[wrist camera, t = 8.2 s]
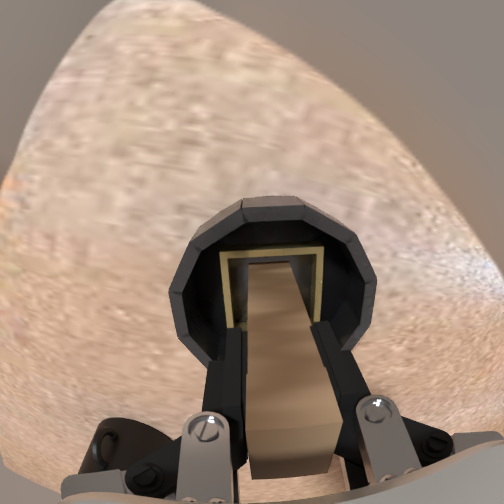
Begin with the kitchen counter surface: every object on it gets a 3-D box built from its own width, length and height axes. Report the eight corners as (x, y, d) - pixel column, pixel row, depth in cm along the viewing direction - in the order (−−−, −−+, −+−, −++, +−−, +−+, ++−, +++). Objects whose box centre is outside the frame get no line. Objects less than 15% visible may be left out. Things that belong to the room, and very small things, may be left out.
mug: (155, 403, 22) (132, 485, 14) (187, 464, 26) (178, 526, 18) (75, 394, 22) (41, 457, 14) (118, 455, 26) (101, 509, 18)
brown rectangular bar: (288, 260, 17) (342, 421, 6) (288, 304, 18) (327, 472, 7) (248, 262, 17) (245, 430, 6) (251, 306, 18) (251, 479, 7)
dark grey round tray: (358, 193, 17) (383, 203, 13) (346, 345, 20) (359, 375, 17) (173, 202, 17) (156, 214, 13) (197, 354, 20) (190, 387, 17)
